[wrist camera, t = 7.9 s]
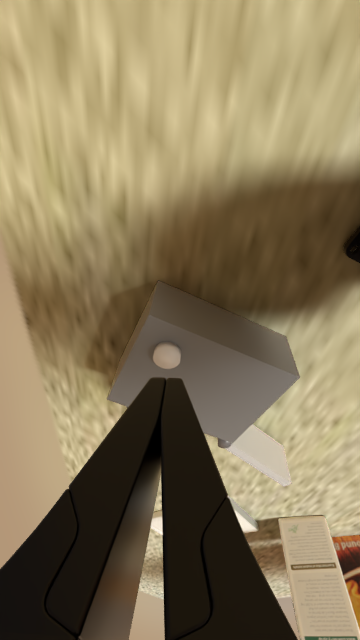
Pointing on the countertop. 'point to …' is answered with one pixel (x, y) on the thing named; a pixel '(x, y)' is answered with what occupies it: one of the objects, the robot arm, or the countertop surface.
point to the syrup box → (316, 580)
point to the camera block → (206, 361)
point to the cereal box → (350, 567)
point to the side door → (261, 454)
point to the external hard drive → (243, 517)
